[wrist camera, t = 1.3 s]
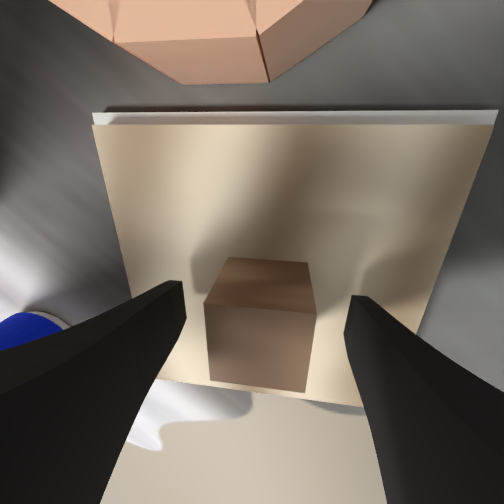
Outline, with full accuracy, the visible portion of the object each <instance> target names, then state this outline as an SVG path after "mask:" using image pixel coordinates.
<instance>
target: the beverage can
mask: <svg viewBox="0 0 504 504" xmlns="http://www.w3.org/2000/svg"><path fill="white" fill-rule="evenodd" d="M67 328H70V326H68V325H67V324H66V323H65V322H64V321H62V320H61V319H59V318H57V317H55V316H53V315H51V314H48V313H44V312H37V311H34V312H21V313H16V314H14V315H12V316H10V317H9V318H7V319H5V320H4V321H2V322H0V351H2V350H5V349H8V348H11V347H15V346H18V345H21V344H24V343H28V342H30V341H33V340H36V339H39V338H42V337H45V336H48V335H51V334H53V333H56V332H59V331H62V330H65V329H67Z"/></svg>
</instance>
